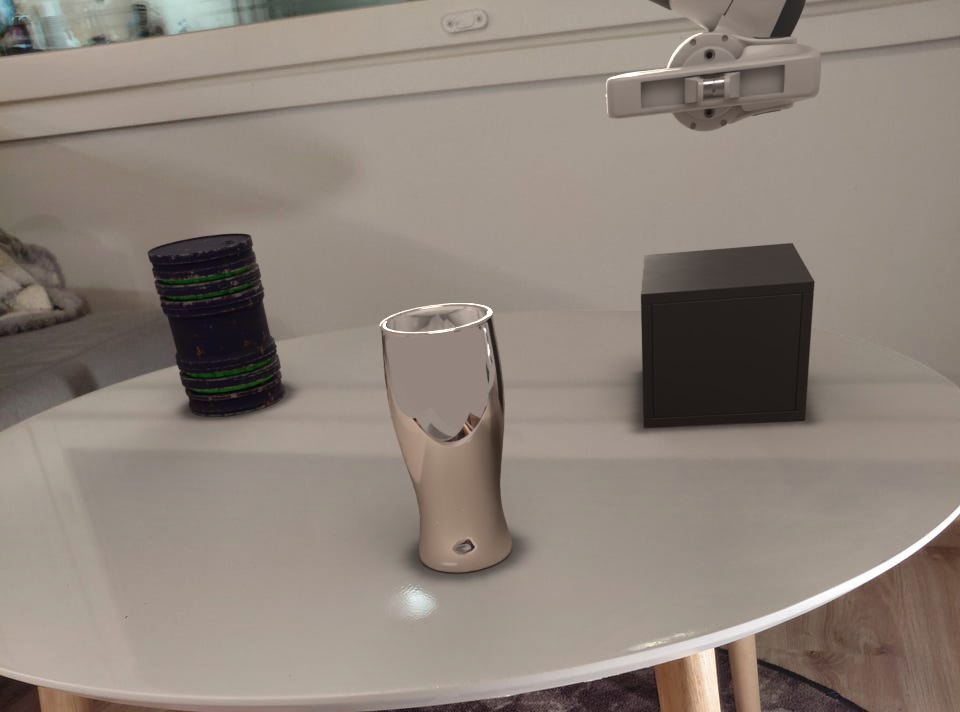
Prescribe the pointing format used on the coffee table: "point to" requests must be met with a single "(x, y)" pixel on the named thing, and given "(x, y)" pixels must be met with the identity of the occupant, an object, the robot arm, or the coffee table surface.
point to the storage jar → (218, 323)
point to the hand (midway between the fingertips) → (713, 90)
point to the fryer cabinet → (725, 336)
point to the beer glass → (450, 429)
